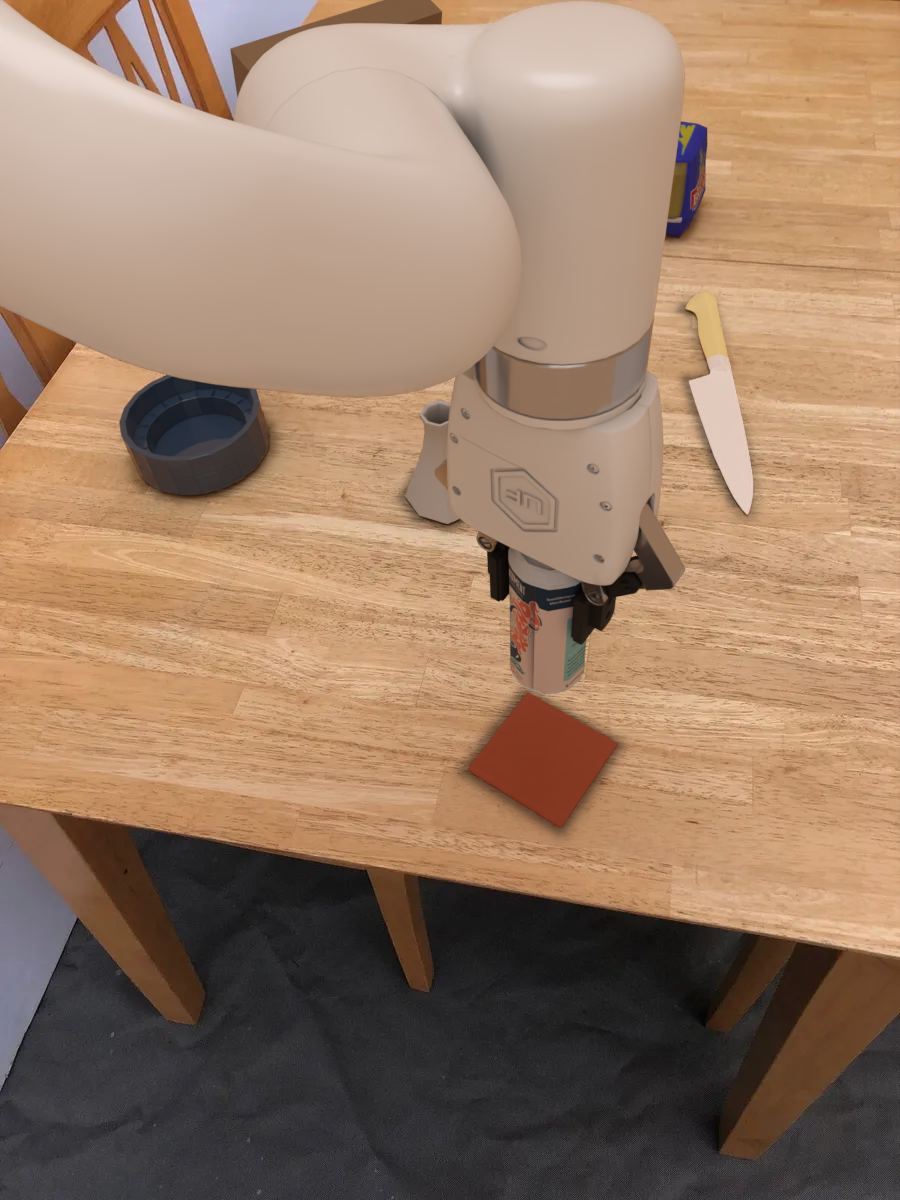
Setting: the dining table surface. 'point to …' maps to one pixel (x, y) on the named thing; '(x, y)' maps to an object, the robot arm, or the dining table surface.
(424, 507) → the flask
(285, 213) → the robot arm
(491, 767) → the mat
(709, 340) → the knife
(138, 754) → the dining table surface
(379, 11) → the photo frame
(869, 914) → the dining table surface
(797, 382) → the dining table surface
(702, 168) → the bread
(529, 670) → the beer can
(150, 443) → the bowl
